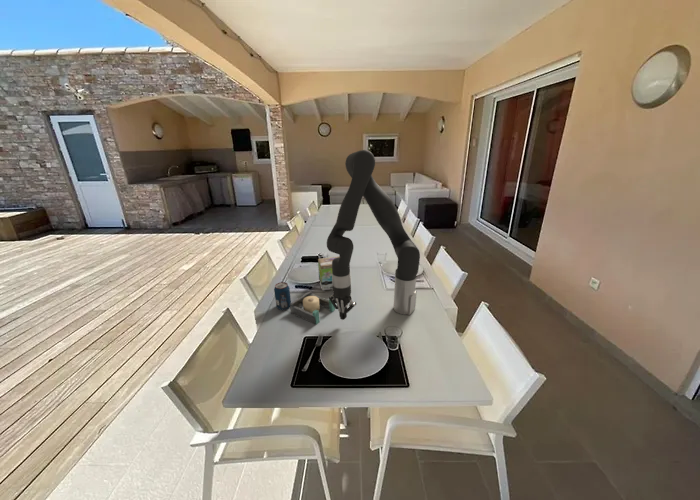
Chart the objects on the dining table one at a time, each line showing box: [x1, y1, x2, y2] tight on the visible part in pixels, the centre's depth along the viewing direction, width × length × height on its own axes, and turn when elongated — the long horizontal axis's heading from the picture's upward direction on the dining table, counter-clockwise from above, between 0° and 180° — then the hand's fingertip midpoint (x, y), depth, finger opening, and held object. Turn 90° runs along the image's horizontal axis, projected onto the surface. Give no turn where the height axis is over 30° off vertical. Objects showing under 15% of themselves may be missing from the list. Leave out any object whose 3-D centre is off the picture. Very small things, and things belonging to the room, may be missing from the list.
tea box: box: [317, 256, 340, 292], centre depth 153 cm, size 15×10×15 cm
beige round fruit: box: [302, 296, 321, 314], centre depth 132 cm, size 7×7×6 cm
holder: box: [289, 291, 336, 326], centre depth 132 cm, size 16×13×6 cm
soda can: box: [273, 281, 292, 311], centre depth 134 cm, size 7×7×12 cm
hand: (343, 318), depth 122 cm, fingers closed
